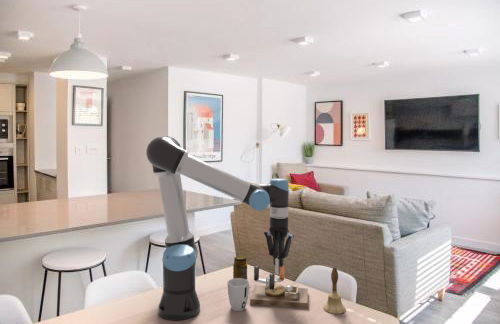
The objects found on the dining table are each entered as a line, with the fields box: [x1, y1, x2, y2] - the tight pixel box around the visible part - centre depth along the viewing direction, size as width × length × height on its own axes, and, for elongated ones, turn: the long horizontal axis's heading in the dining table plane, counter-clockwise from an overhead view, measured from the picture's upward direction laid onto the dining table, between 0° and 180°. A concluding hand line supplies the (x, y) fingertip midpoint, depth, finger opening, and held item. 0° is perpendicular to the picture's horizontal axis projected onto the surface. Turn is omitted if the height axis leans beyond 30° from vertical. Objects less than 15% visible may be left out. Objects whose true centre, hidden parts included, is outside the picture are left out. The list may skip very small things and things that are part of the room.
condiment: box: [232, 255, 251, 289], centre depth 169 cm, size 7×8×12 cm
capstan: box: [253, 265, 286, 297], centre depth 156 cm, size 13×12×10 cm
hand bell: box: [322, 266, 346, 315], centre depth 147 cm, size 8×8×16 cm
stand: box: [249, 284, 309, 309], centre depth 156 cm, size 22×14×4 cm, turn 82°
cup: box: [227, 278, 250, 312], centre depth 147 cm, size 8×8×10 cm
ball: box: [285, 285, 293, 292], centre depth 156 cm, size 3×3×3 cm
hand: (278, 273), depth 161 cm, fingers closed
